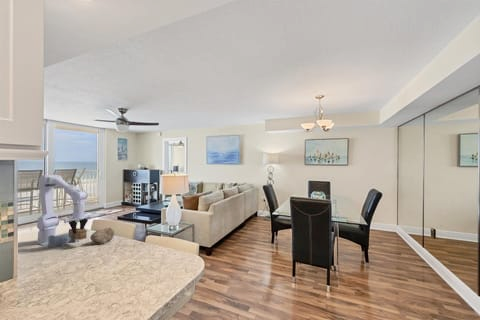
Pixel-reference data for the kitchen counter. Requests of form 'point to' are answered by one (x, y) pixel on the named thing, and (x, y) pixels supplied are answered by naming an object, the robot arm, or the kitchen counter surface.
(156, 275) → the kitchen counter surface
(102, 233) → the coral
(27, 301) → the kitchen counter surface
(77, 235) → the brown block
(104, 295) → the kitchen counter surface
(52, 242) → the blue-grey stepped platform
